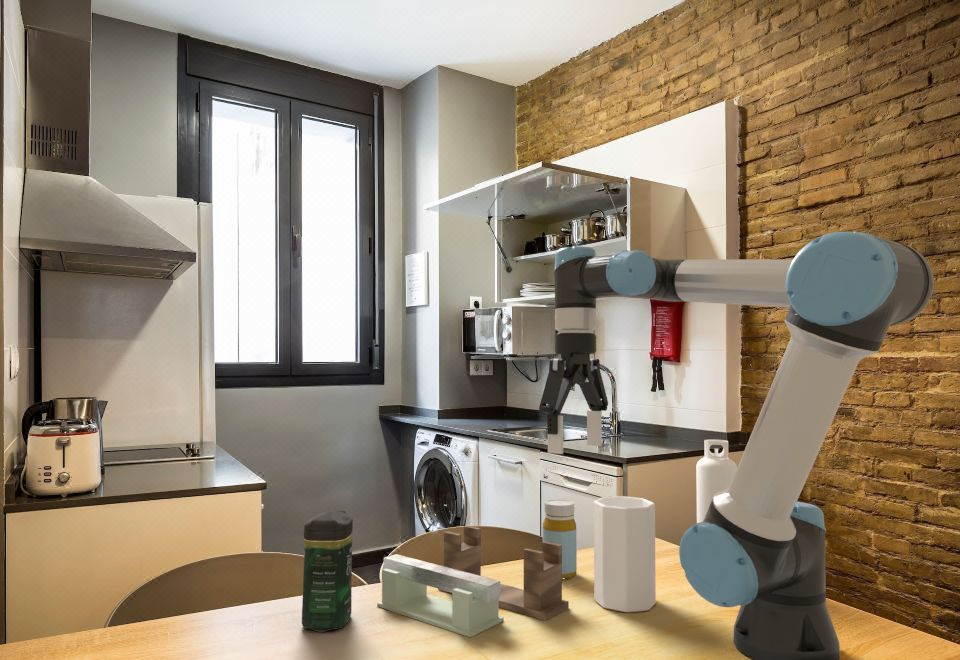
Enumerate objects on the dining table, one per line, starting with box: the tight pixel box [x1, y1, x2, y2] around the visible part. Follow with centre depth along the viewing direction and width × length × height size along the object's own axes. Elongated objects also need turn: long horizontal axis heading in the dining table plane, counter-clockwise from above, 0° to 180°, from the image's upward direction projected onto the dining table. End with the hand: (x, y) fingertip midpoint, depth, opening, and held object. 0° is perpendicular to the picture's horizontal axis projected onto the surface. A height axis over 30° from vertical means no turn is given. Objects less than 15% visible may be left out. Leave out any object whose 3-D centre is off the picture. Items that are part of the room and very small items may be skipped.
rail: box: [383, 553, 501, 603], centre depth 122 cm, size 25×3×3 cm, turn 51°
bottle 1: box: [542, 498, 578, 579], centre depth 144 cm, size 7×7×15 cm
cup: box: [593, 495, 657, 614], centre depth 128 cm, size 11×11×18 cm
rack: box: [438, 525, 570, 621], centre depth 130 cm, size 25×8×11 cm, turn 51°
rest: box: [376, 568, 504, 638], centre depth 122 cm, size 22×9×7 cm, turn 51°
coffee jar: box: [301, 509, 354, 632], centre depth 118 cm, size 10×8×19 cm
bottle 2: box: [695, 439, 738, 524], centre depth 143 cm, size 8×8×28 cm
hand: (575, 449), depth 125 cm, fingers open, 13 cm apart
